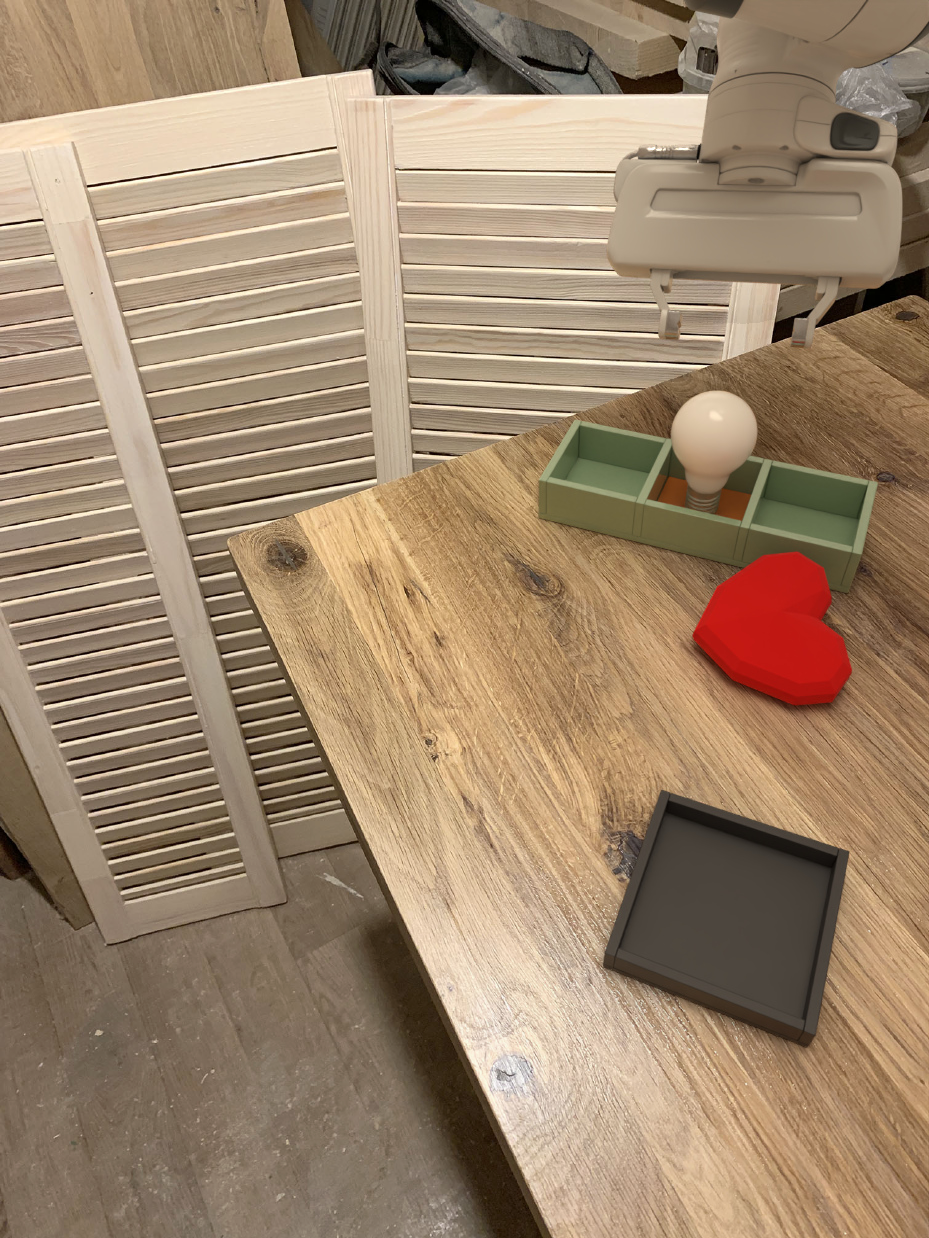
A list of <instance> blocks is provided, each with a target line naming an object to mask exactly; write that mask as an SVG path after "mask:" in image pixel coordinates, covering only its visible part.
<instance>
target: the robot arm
mask: <svg viewBox="0 0 929 1238" xmlns="http://www.w3.org/2000/svg"><path fill="white" fill-rule="evenodd" d="M683 2H684V3H685V5H686V7H687V8H688V9H689V11H693V12H697V13H698V12H699V13H703V14H708V15H712V16H717V17H719V19H718V26H717V32H716V48H717V55H718V61H717V62H718V63H717V70H716V74H715V76H714V79H713V81H712V83H711V86H710V88H709V92H708V95H707V101H706V108H705V113H704V121H703V128H702V134H701V143H699V144H672V145H664V146H663V145H657V144H643V145H639V146H638V150H634V151H631V152H629V153H628V154H626V155H625V156H624V157H623V158H622V159H621V160H620V161H619V163H618V165H617V166H616V170H615V176H614V182H613V190H612V191H613V197H614V200H615V202H616V205H615V209H614V213H613V216H612V220H611V224H610V228H609V233H608V239H607V243H606V250H605V251H606V259H607V261H608V263H609V265H610V266H611V268H612V269H613V271H614V272H615V274H616V275H618V276H619V277H622V278H638V279H639V278H641V279H650V280H649V287H650V291H651V293H652V295H653V297H654V300H655V303H656V305H657V308H658V310H659V313H660V317H659V323H658V330H657V332H658V333H657V336H658V339H659V340H672V341H673V340H674V341H680V337H681V329H680V328H682V326H683V325H682V324H683V315H682V311H680V310H679V311H678V310H671V309H670V306H669V304H668V301H667V298H666V296H665V294H671V293H672V288H673V282H674V280H683V281H701V282H702V281H703V282H704V281H705V282H727V283H747V284H748V283H749V284H767V285H786V286H787V285H789V286H792V285H793V286H808V287H809V286H810V287H811V286H812V287H816V289H815V294H814V295H815V296H814V300H815V302H816V301H817V302H818V303H817V304H816V305H815V306H814V308H813V309H812V310H811V312H810V313H809V315H808V316H807V317H806V318H805V317H804V318H803V317H795V318H794V322H793V327H792V334H791V340H790V346H789V347H790V348H795V349H796V348H797V349H809V350H810V349H812V346H813V341H814V336H815V332H816V331H815V329H816V325H817V326H818V324H819V322H820V321H821V320H822V319H823V317H824V316H825V315H826V314H827V312H828V311H829V310H830V309H831V307H832V306H833V305H834V303H835V302H836V299H837V296H838V291H839V288H851V289H852V288H856V289H878V288H880V287H881V286H883V285H884V284H885V283H886V282H888V281H889V280H890V278H892V276H893V275H894V273H895V272H896V269H897V265H898V261H899V255H900V249H901V240H902V228H903V189H902V188H903V187H902V182H901V180H900V176H899V175H898V173H897V172H896V170H895V169H894V168H893V167H892V166H893V163H894V160H895V157H896V152H897V147H898V128H897V127H896V126H895V124H894V123H892V122H890V121H887V120H885V119H882V118H879V117H875V116H873V115H870V114H866V113H863V112H860V111H859V110H858V111H857V110H854V109H851V108H849V107H847V106H843V105H840V104H839V103H836V102H837V84H838V81H839V79H840V78H841V76H842V75H843V73H844V72H846V71H847V70H849V69H857V70H858V69H864V68H867V67H870V66H871V67H872V66H873V65H876V64H879V63H881V62H884V61H885V60H888V59H890V58H893V57H894V56H896V55H898V54H901V53H902V52H904V51H906V50H907V49H909V48H911V47H912V46H914V45H915V44H917V43H918V42H920V41H921V40H923V39H924V38H925V37H926V36H928V34H929V0H683ZM636 158H637V159H636Z"/></svg>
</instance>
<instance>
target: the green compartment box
mask: <svg viewBox="0 0 929 1238" xmlns="http://www.w3.org/2000/svg"><path fill="white" fill-rule="evenodd" d="M687 485H688V483H687V481H686V477H685V469H684V467H683V465H682V464H681V463H680V461H679V460H678V458H677V457H676V455H675V453H674V450H673V447H672V443H671V438H668V437H662V436H657V435H652V434H647V433H642V432H637V431H634V430H633V431H632V430H628V429H625V428H624V429H623V428H618V427H613V426H610V425H603V424H599V423H594V422H590V421H584V420H581V419H574V420H573V422H572V423H571V425H570V427H569V428H568V430H567V431H566V433H565V435H564V436H563V438H562V440H561V442H560V443H559V445H558V447H557V448H556V450H555V452H554V453H553V455H552V457H551V458H550V460H549V462H548V464H547V465H546V467H545V468H544V470H543V472H542V474H541V475H540V477H539V479H538V519H542V520H546V521H550V522H554V523H557V524H562V525H566V526H571V527H575V528H579V529H583V530H587V531H589V532H590V531H591V532H595V533H600V534H602V535H608V536H611V537H615V538H618V539H624V540H626V541H627V540H628V541H631V542H636V543H639V544H643V545H648V546H652V547H656V548H661V549H664V550H669V551H672V552H677V553H681V554H685V555H689V556H693V557H697V558H701V559H705V560H708V561H713V562H718V563H721V564H725V565H730V566H733V567H738V568H742V569H744V568H745V567H747V566H748V565H750V564H751V563H752V562H754V561H755V560H757V559H758V558H760V557H761V556H763V555H769V554H779V553H788V552H799V553H801V554H802V555H804V556H806V557H807V558H809V559H810V560H812V561H814V562H815V563H817V564H818V565H820V566H822V567H823V568H824V571H825V574H826V578H827V582H828V585H829V589H830V591H831V590H832V591H836V592H840V593H844V594H849V592H850V590H851V587H852V585H853V581H854V578H855V576H856V572H857V570H858V567H859V564H860V562H861V559H862V556H863V552H864V548H865V543H866V540H867V539H866V538H867V534H868V530H869V525H870V522H871V517H872V512H873V508H874V502H875V499H876V495H877V490H878V486H879V482H878V481H875V480H869V479H865V478H860V477H855V476H851V475H846V474H840V473H836V472H831V471H826V470H821V469H817V468H813V467H806V466H802V465H799V464H793V463H788V462H784V461H777V460H772V459H768V458H764V457H761V456H755V455H750V456H749V458H748V459H747V460H746V461H745V463H744V464H742V465H741V466H740V467H739V468H738V469H736V470H735V471H734V472H732V473H731V474H730V476H729V478H728V480H727V482H726V484H725V485H724V487H723V488H722V491H721V495H720V501H719V506H718V510H717V512H716V513H715V514H709V513H705V512H701V511H696V510H692V509H688V508H685V501H686V500H685V499H686V493H687Z"/></svg>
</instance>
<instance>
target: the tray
mask: <svg viewBox="0 0 929 1238" xmlns="http://www.w3.org/2000/svg"><path fill="white" fill-rule="evenodd" d="M849 857H850V851H849V850H846V849H844V848H839V847H838V846H834V845H832V844H828V843H825V842H822V841H819V840H817V839H813V838H810V837H808V836H804V835H801V834H798V833H794V832H792V831H789V830H786V829H782V828H780V827H776V826H773V825H771V824H767V823H765V822H762V821H759V820H756V819H752V818H749V817H747V816H743V815H740V814H737V813H734V812H731V811H728V810H724V809H721V808H719V807H715V806H713V805H710V804H706V803H703V802H700V801H697V800H694V799H691V798H689V797H685V796H682V795H679V794H676V793H673V792H670V791H668V790H664V789H661V790H660V791H659V795H658V798H657V800H656V804H655V806H654V809H653V812H652V815H651V817H650V821H649V824H648V826H647V830H646V832H645V835H644V838H643V841H642V844H641V847H640V849H639V852H638V855H637V858H636V860H635V863H634V867H633V869H632V873H631V875H630V877H629V881H628V885H627V887H626V890H625V893H624V896H623V898H622V902H621V904H620V907H619V909H618V913H617V915H616V918H615V921H614V924H613V928H612V930H611V932H610V936H609V938H608V942H607V943H606V944H607V945H606V947H605V950H604V956H603V963H602V967H603V968H605V969H608V970H610V971H613V972H616V973H618V974H621V975H623V976H625V977H628V978H631V979H633V980H635V981H638V982H640V983H643V984H646V985H649V986H651V987H652V988H656V989H659V990H661V991H662V992H663V991H664V992H666V993H668V994H670V995H673V996H676V997H679V998H681V999H683V1000H686V1001H689V1002H691V1003H694V1004H696V1005H699V1006H701V1007H704V1008H706V1009H708V1010H711V1011H713V1012H716V1013H719V1014H721V1015H724V1016H726V1017H728V1018H731V1019H734V1020H737V1021H739V1022H741V1023H744V1024H746V1025H750V1026H751V1027H754V1028H757V1029H759V1030H762V1031H764V1032H766V1033H769V1034H771V1035H774V1036H776V1037H778V1038H781V1039H784V1040H787V1041H788V1042H791V1043H794V1044H797V1045H799V1046H802V1047H804V1048H809V1046H810V1045H811V1043H812V1042H813V1040H814V1039H815V1038H816V1036H817V1030H818V1024H819V1020H820V1014H821V1009H822V1004H823V997H824V994H825V993H824V992H825V989H826V988H825V987H826V982H827V976H828V972H829V971H828V970H829V966H830V961H831V960H830V959H831V955H832V949H833V944H834V938H835V932H836V928H837V922H838V916H839V911H840V905H841V900H842V895H843V890H844V886H845V885H844V884H845V880H846V879H845V878H846V873H847V868H848V863H849Z"/></svg>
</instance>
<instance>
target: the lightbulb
mask: <svg viewBox="0 0 929 1238" xmlns="http://www.w3.org/2000/svg"><path fill="white" fill-rule="evenodd" d="M754 413H755V412H754V411H753V409H752V408H751V406H750V405H749V404H748V402H746V401H745V400H744V399H743V398H741V397H740V396H739V395H736V394H735V393H732V392H729V391H725V390H707V391H704V392H701V393H698V394H696V395H694V396H692V397H691V398H690V399H688V400H686V402H685V403H683V405H681V407H680V408H679V409H678V411H677V412H676V414H675V416H674V418H673V420H672V424H671V429H670V439H671V443H672V447H673V450H674V453H675V455H676V457H677V458H678V460H679V461H680V463H681V464H682V465H683V467H684V469H685V477H686V481H687V483H688V485H687V493H686V499H685V500H686V501H685V508H688V509H692V510H696V511H701V512H705V513H709V514H715V513H716V512H717V510H718V506H719V501H720V495H721V491H722V488H723V487H724V485H725V484H726V482H727V480H728V478H729V476H730V474H731V473H732V472H734V471H735V470H736V469H738V468H739V467H740V466H741V465H742V464H744V463H745V461H746V460H747V459H748V458H749V456H752V453H753V451H754V450H755V447H756V445H757V441H758V432H759V430H758V429H759V428H758V421H757V418H756V415H755V414H754Z"/></svg>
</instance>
